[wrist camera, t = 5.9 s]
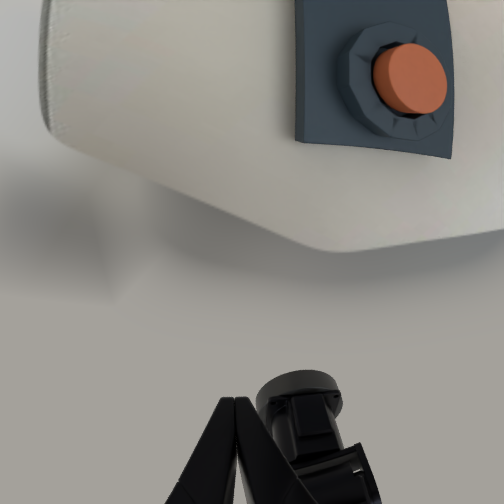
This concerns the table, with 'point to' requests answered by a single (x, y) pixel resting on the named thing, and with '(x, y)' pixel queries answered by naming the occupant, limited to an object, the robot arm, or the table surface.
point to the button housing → (367, 74)
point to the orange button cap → (410, 79)
